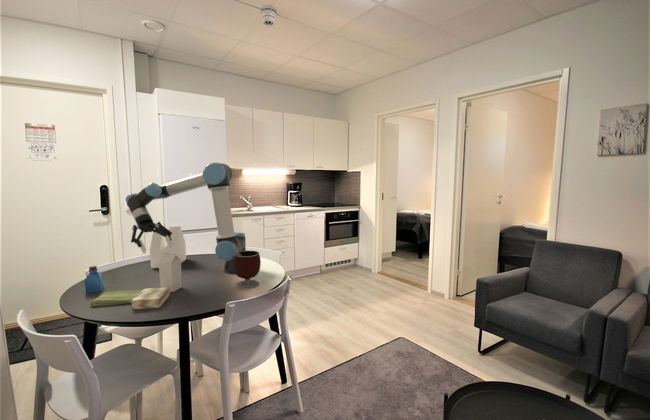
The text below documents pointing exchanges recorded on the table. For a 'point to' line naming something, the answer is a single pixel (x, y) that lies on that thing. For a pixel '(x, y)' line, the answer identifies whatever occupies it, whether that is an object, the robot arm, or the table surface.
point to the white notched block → (162, 247)
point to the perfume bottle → (93, 280)
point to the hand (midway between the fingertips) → (158, 248)
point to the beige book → (150, 298)
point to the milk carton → (170, 272)
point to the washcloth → (115, 298)
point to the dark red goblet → (246, 268)
